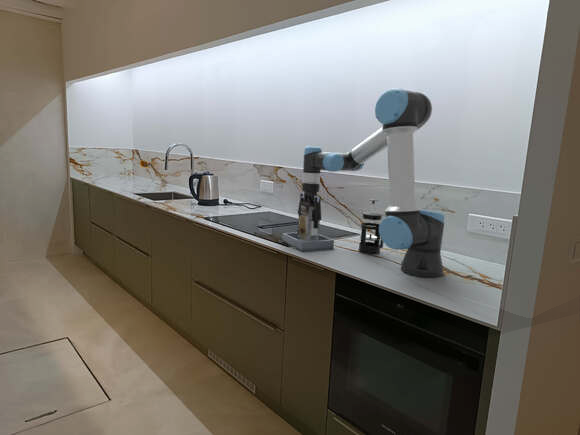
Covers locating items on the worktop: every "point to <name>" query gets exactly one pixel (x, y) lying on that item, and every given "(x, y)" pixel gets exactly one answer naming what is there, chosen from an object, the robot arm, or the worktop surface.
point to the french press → (370, 246)
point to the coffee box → (306, 222)
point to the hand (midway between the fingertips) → (308, 232)
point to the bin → (308, 242)
